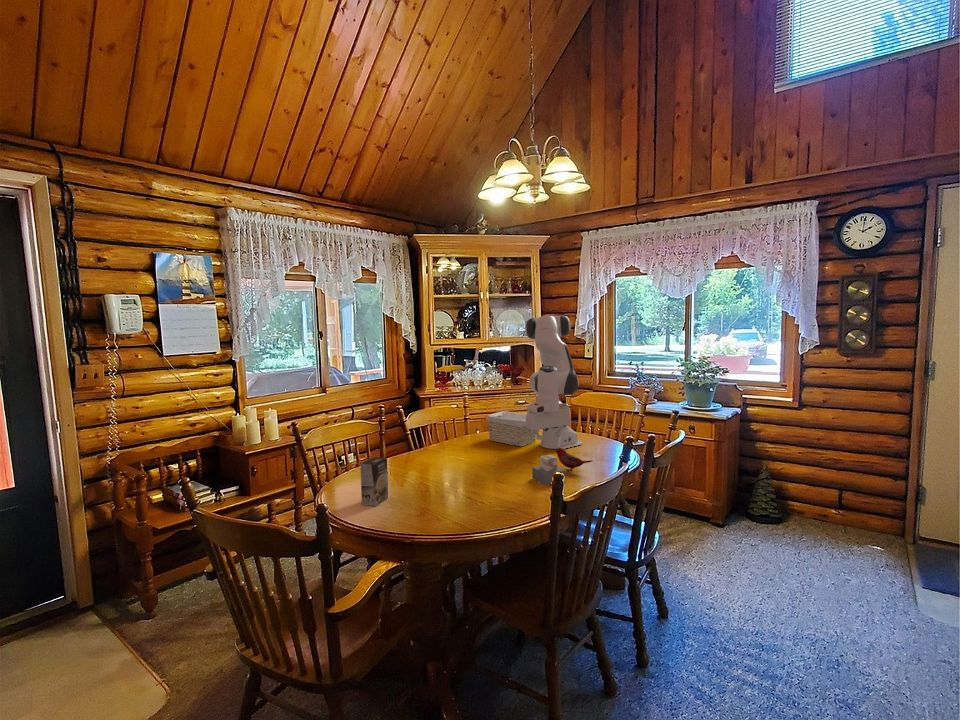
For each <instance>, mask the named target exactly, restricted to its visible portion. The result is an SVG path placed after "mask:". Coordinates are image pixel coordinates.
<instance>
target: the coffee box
mask: <svg viewBox="0 0 960 720" xmlns="http://www.w3.org/2000/svg"><path fill="white" fill-rule="evenodd" d="M359 464H360V486H361V487H360V488H361V491H360V492H361V493H360V494H361V495H360V496H361V505H362V504H363V505H364V506H369V505H370V506H371V507H376V506H379V505H380V504H382V503H383V502H385V501H386V500H388V499H389V481H388V480H389V479H388V478H389V477H388V457H377V456H376V457H375V456H373V457H370V458H369V459H366V460H363V461H362V462H360V463H359ZM387 498H388V499H387ZM384 500H385V501H384ZM381 502H382V503H381Z"/></svg>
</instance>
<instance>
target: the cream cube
mask: <svg viewBox="0 0 960 720" xmlns="http://www.w3.org/2000/svg"><path fill="white" fill-rule="evenodd" d="M539 457H540V461H539V463H540V465H539V466H540V468H542V469H544V470H546V471H551V470H556V469H557V466H558V458H557V457H558V456H557V457H556V456H554V455H552V454H546V455H541V456H539Z"/></svg>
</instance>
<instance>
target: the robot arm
mask: <svg viewBox="0 0 960 720" xmlns="http://www.w3.org/2000/svg"><path fill="white" fill-rule="evenodd" d="M571 329H572V324H571V321H570V319H569V317H568V316H567V315H563V314H560V315H549V314H544V315H542V316H538V317H530V318H528V320H526V323H525V325H524V331H525V333H526V336H527V337H528V338H529V339H531V340H534V343H535V347H536V349H537V351H539V355H540V356H539V358H540V362H541V364H542V365H543V366H540V367H539V369H538V371H537V372H533V373H532V374H531V376H530V377H529V380H528V381H529V382H528V383H529V387H530V389H532V391H533V392H534V393H535V394H536V395H537V400H536V401H534V402H532V403H530V404H528V405H527V406H526V410H527V413H526V414H527V415H526V428H527V429H528V430H531V431H533V430H534V432H535V434H536V440H537V441H540V443H539V446H541V447H542V448H546V449H552V450H557V449H558V448H562V449H564V450H567V449H566V448H568V449H570V447H572V448H575V447H574V446H576V447H579V446H578V445H580V446H583V442H582V441H581V440H579V438H578V433H577V432H576V431H575V430H574V429H572V428H571V427H570V424H571V422H572V421H571V413H570V410H571V409H570V406H569V405H568V403H566V402H565V403H563V402H562V401H561V400H560V396H559V395H566V396H569V395H570V396H572V395H573V394H575V393H576V392H577V391H578V390H579V385H580V381H579V377H578V375H577V373H576V370H575V367H574V363H573V361H572V356H571V354H570V350H569V348H568V345H567V344H566V343H565V342H563V341H562V340H561V338H565V337H567V336H568V335H570V332H571ZM540 430H541V431H542V432H541V433H542V434H540Z"/></svg>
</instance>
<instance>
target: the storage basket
mask: <svg viewBox="0 0 960 720" xmlns="http://www.w3.org/2000/svg"><path fill="white" fill-rule="evenodd" d="M526 415H527V413H521V412H520V413H519V412H515V411H506V410H503V411H498V412H494V413H491V414H488V415H487V417H486V421H487V424H488V425H487V426H488V435H489V436H488V437H489V440H490V441H491V442H496V443H501V444H505V445H508V444H509V445H510V446H515V445H516V446H515V447H521V446H523V447H525V446H528V445H531V444H533V443H535V442H536V440H537V438H536V434H535V432H534V430H533V431H531V430H528V429H527V428H526ZM532 442H533V443H532ZM530 443H531V444H530ZM527 444H528V445H527ZM509 445H508V446H509Z"/></svg>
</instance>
